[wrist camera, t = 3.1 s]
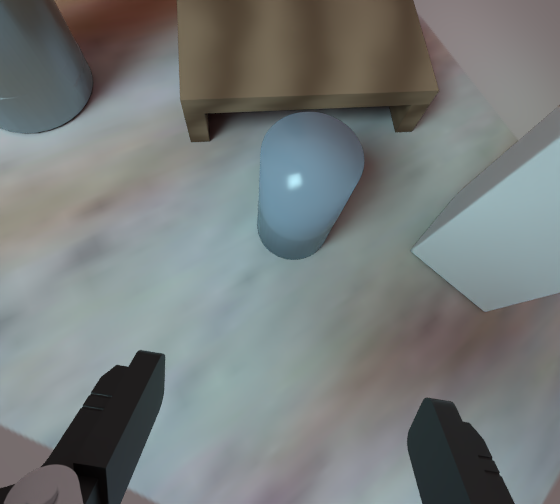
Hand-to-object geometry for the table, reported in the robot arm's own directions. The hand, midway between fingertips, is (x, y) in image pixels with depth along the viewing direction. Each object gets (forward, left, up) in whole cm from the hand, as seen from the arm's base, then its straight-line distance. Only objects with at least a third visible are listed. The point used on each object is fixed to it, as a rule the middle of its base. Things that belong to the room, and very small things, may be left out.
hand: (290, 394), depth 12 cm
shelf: (+5, +24, -15) cm, 29 cm away
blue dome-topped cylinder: (+3, +11, -15) cm, 19 cm away
